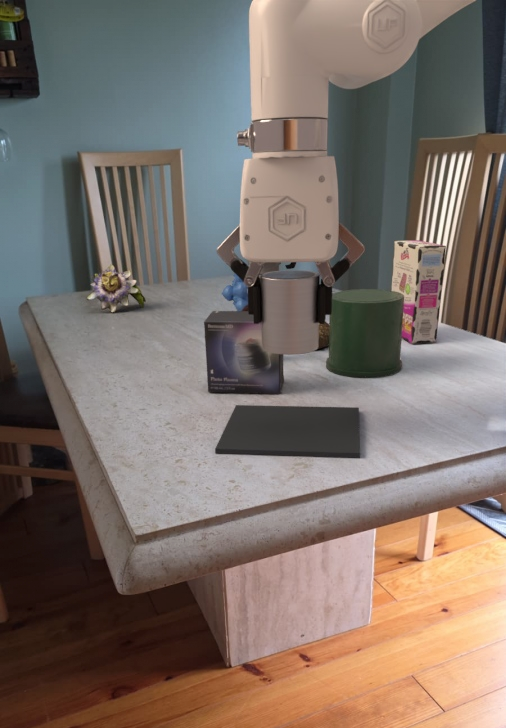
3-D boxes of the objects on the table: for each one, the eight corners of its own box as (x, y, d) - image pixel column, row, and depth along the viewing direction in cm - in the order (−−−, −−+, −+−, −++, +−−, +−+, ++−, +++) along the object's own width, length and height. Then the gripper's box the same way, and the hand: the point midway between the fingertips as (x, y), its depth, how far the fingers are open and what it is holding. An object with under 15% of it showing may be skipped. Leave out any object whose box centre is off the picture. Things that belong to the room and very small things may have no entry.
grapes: (223, 316, 134) (220, 258, 130) (254, 314, 134) (253, 257, 130) (222, 328, 124) (218, 266, 119) (255, 327, 124) (253, 265, 119)
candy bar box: (438, 343, 109) (447, 245, 102) (411, 345, 108) (419, 246, 101) (412, 328, 119) (419, 238, 112) (387, 330, 118) (392, 240, 111)
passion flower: (117, 335, 144) (80, 297, 137) (113, 317, 153) (78, 280, 145) (155, 305, 142) (120, 265, 135) (148, 289, 151) (115, 250, 144)
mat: (358, 411, 80) (358, 407, 80) (359, 457, 67) (360, 452, 67) (236, 409, 82) (235, 404, 82) (215, 453, 70) (214, 448, 69)
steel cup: (319, 340, 73) (320, 269, 70) (317, 355, 67) (318, 279, 64) (265, 339, 74) (264, 270, 70) (258, 354, 68) (256, 279, 65)
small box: (206, 394, 88) (201, 320, 84) (215, 379, 94) (210, 310, 90) (280, 395, 87) (279, 320, 82) (284, 380, 92) (284, 310, 88)
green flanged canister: (399, 356, 102) (404, 287, 98) (404, 378, 92) (410, 302, 87) (327, 355, 104) (328, 288, 99) (324, 377, 93) (325, 303, 89)
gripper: (196, 144, 60) (207, 328, 67) (379, 137, 57) (369, 330, 65) (212, 146, 66) (220, 313, 74) (376, 140, 64) (368, 314, 71)
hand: (290, 319), depth 69 cm, fingers closed on steel cup, 6 cm apart
